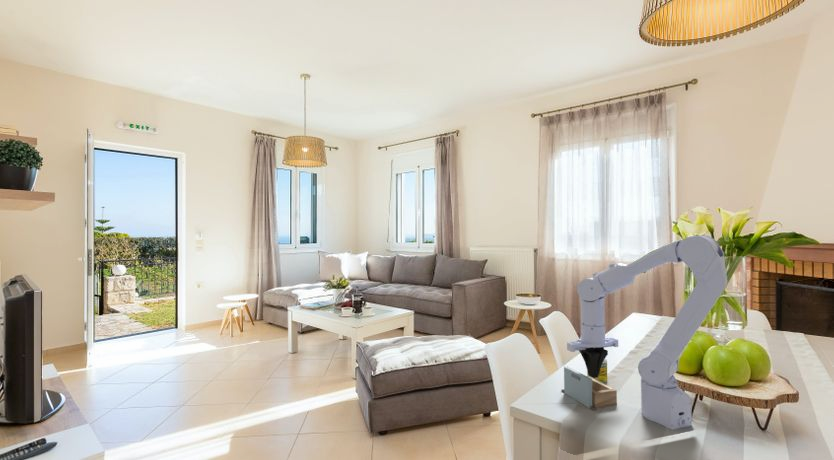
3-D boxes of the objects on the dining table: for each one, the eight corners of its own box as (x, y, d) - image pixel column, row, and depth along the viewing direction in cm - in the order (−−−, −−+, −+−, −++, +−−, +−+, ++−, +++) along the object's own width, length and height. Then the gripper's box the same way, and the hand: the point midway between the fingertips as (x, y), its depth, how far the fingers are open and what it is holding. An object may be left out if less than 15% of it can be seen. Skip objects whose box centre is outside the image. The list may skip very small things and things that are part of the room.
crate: (619, 409, 95) (619, 391, 95) (592, 414, 93) (592, 395, 93) (585, 391, 106) (585, 374, 106) (561, 395, 104) (561, 378, 104)
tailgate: (592, 407, 94) (592, 378, 94) (588, 408, 94) (587, 379, 94) (567, 392, 103) (567, 366, 103) (563, 393, 103) (563, 367, 103)
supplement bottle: (594, 377, 116) (593, 345, 116) (611, 383, 111) (610, 350, 112) (583, 381, 113) (583, 349, 113) (600, 387, 108) (600, 353, 109)
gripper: (603, 318, 106) (604, 368, 106) (559, 322, 102) (559, 374, 102) (624, 324, 99) (625, 377, 99) (577, 329, 95) (578, 384, 95)
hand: (593, 376), depth 100 cm, fingers closed
